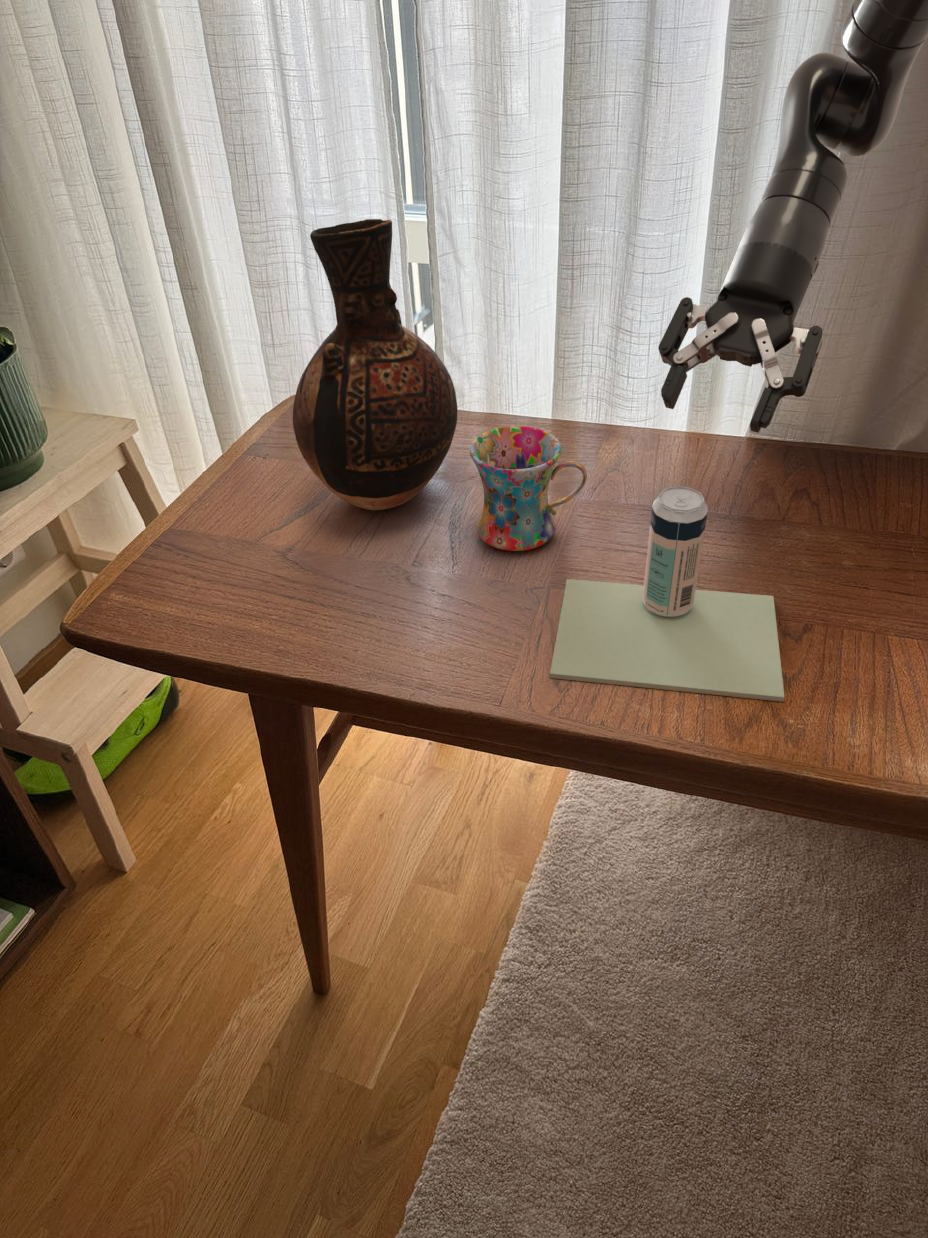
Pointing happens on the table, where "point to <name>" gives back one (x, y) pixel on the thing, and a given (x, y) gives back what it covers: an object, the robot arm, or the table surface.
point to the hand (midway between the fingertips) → (710, 417)
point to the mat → (669, 642)
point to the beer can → (674, 551)
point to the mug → (518, 486)
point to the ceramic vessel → (371, 381)
